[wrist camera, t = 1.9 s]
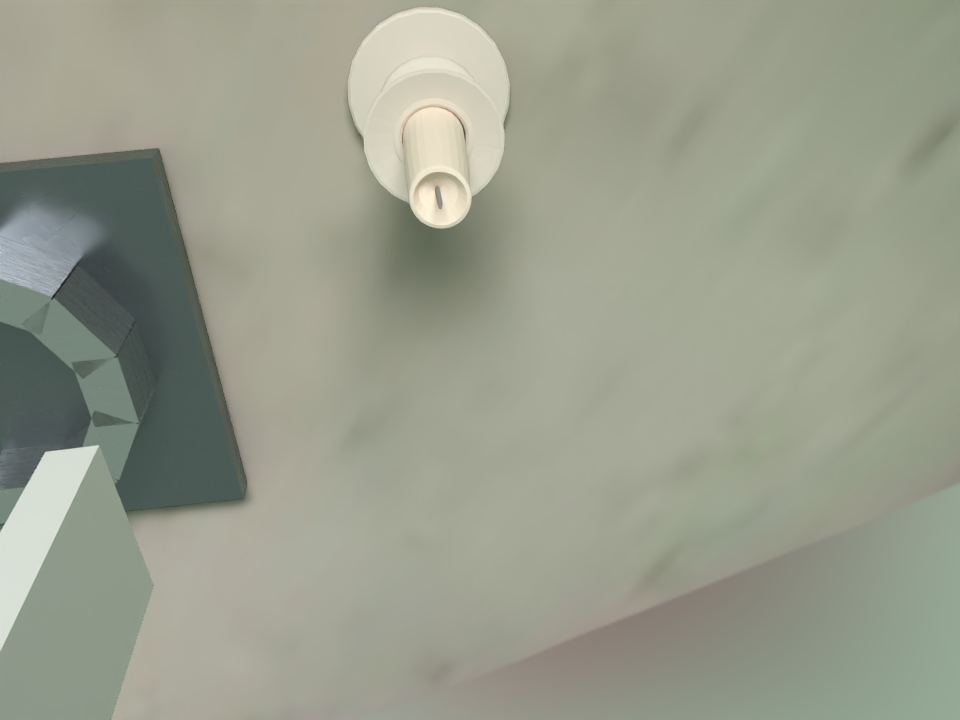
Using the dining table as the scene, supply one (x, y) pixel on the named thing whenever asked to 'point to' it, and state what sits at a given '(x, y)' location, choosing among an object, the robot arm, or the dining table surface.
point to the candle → (430, 110)
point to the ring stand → (107, 334)
